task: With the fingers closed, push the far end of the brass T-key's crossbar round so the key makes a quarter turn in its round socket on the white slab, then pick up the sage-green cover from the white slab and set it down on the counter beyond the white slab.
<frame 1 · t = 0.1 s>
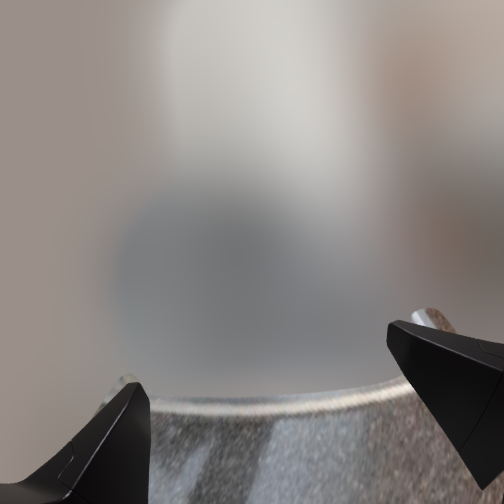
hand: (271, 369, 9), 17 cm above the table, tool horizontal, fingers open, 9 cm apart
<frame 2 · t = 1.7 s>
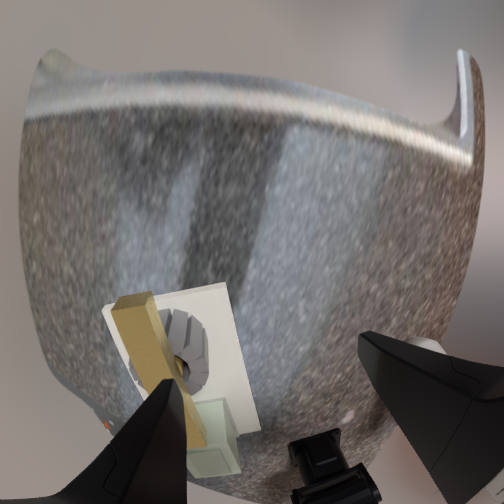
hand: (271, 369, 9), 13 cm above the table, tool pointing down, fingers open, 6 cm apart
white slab: (190, 377, 23), on the table
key: (150, 268, 19), point 1 cm above the table, touching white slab
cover: (207, 423, 23), point 1 cm above the table, touching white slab
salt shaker: (408, 351, 27), on the table
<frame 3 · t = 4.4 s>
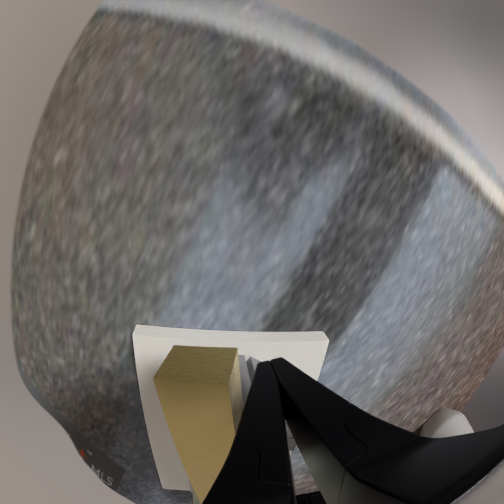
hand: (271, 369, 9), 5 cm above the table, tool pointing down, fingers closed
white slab: (223, 432, 16), on the table
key: (228, 293, 13), point 1 cm above the table, tilted 14°, touching gripper
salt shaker: (433, 420, 22), on the table
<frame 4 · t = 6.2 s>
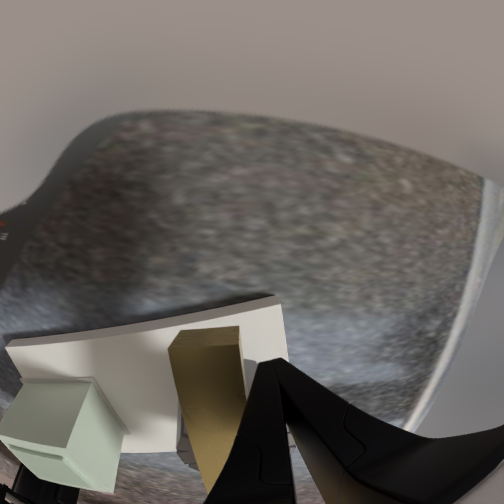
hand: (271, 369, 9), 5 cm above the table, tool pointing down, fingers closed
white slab: (147, 395, 14), on the table
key: (219, 300, 14), resting on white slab, tilted 15°, touching gripper
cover: (71, 409, 13), point 1 cm above the table, touching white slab
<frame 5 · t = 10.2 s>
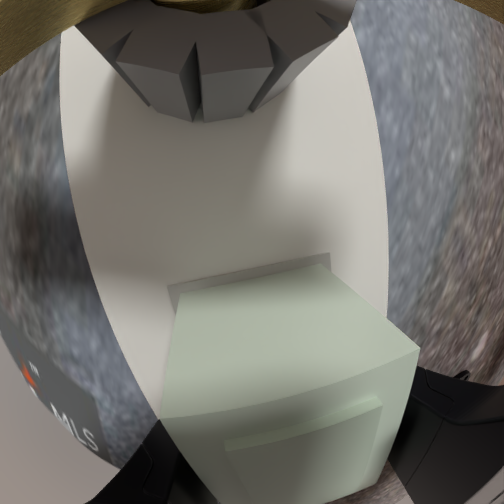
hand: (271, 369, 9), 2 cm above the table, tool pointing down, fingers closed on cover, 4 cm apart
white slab: (233, 194, 9), on the table
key: (68, 80, 7), resting on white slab, tilted 15°
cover: (266, 355, 9), point 1 cm above the table, touching gripper, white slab
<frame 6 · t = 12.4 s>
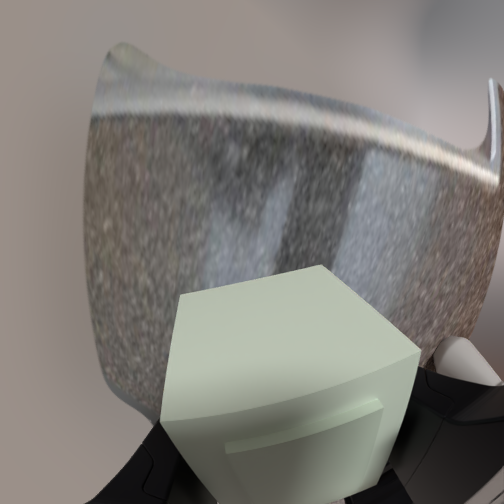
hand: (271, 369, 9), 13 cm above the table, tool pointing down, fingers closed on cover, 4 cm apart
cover: (266, 356, 9), point 12 cm above the table, touching gripper
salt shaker: (442, 349, 28), on the table
when the fingers open (3 cm above the table, at t = 14.8 s): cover drops 2 cm, on the table.
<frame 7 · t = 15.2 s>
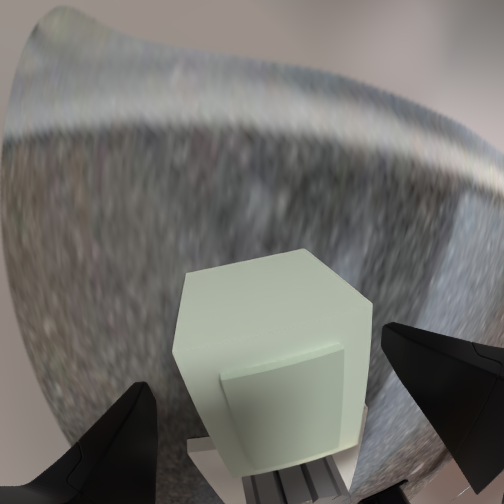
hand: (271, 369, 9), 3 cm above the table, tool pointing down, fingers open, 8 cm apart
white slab: (288, 481, 15), on the table
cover: (258, 328, 11), on the table
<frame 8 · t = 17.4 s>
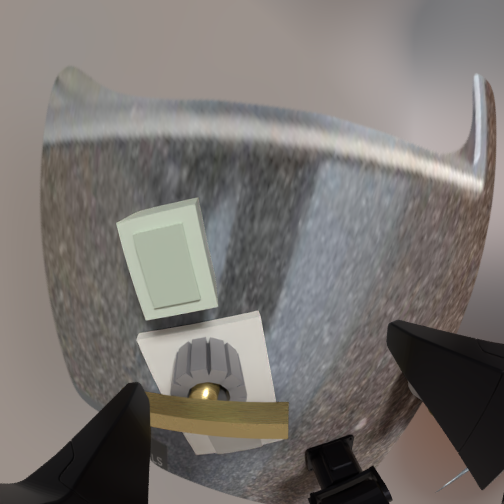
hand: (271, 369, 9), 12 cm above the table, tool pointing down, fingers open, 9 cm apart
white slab: (220, 396, 24), on the table
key: (147, 358, 22), resting on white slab, tilted 15°
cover: (176, 244, 20), on the table
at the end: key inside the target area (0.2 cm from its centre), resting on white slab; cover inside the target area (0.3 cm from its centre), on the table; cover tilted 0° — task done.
